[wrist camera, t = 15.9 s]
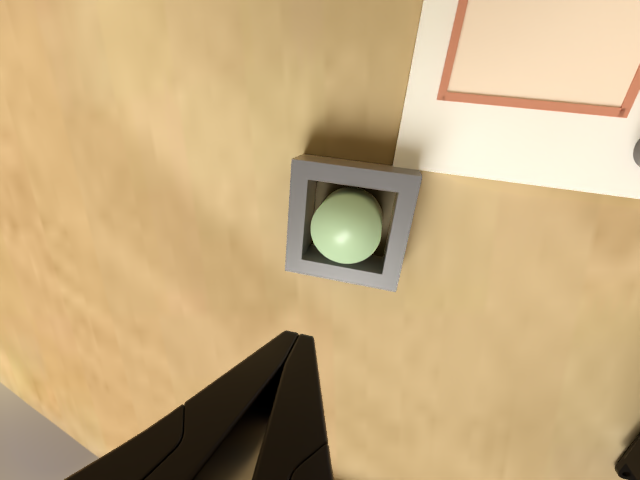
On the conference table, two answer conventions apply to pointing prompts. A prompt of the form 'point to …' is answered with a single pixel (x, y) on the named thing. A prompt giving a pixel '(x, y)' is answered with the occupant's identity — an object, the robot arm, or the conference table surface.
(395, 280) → the button housing
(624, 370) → the conference table surface
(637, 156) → the salmon rounded cylinder
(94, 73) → the conference table surface
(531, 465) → the conference table surface
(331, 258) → the button
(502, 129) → the sheet
